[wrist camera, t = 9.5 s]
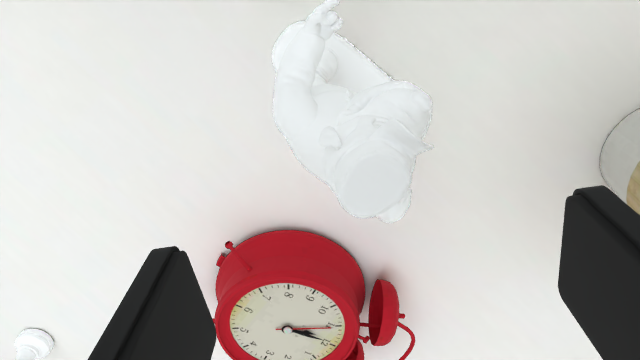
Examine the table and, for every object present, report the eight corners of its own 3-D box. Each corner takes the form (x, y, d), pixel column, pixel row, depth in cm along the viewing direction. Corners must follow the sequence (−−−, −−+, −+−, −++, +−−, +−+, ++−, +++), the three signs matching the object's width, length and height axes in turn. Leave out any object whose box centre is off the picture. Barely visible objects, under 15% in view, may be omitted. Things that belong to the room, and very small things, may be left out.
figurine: (452, 89, 24) (546, 201, 14) (372, 170, 27) (400, 317, 16) (325, -26, 22) (322, 4, 11) (249, 75, 24) (188, 178, 14)
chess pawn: (14, 329, 34) (-17, 367, 31) (46, 326, 34) (17, 364, 31) (29, 352, 35) (0, 391, 32) (59, 349, 35) (33, 389, 32)
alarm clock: (227, 227, 25) (454, 367, 25) (264, 185, 30) (448, 299, 30) (165, 341, 29) (358, 459, 29) (207, 286, 35) (369, 385, 35)
